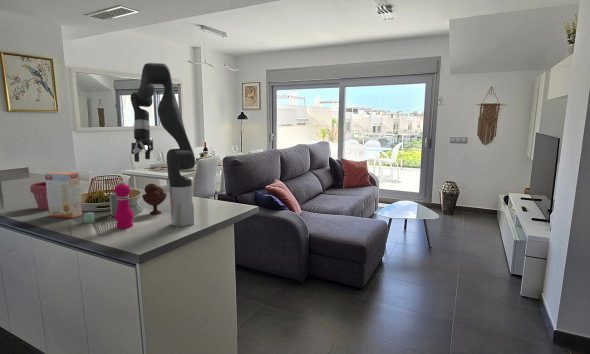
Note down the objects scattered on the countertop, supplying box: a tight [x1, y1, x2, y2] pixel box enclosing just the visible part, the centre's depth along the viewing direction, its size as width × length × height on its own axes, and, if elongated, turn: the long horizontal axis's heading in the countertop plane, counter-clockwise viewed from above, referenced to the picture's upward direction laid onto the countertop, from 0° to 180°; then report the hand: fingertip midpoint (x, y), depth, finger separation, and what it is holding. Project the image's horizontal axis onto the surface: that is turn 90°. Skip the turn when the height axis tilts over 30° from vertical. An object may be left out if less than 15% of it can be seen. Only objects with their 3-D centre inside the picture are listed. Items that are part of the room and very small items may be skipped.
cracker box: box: [44, 171, 83, 219], centre depth 160 cm, size 14×6×21 cm, turn 74°
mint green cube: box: [83, 212, 96, 224], centre depth 152 cm, size 4×4×4 cm
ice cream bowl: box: [141, 183, 168, 216], centre depth 166 cm, size 11×11×15 cm
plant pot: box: [29, 181, 49, 211], centre depth 176 cm, size 14×14×13 cm
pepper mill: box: [114, 180, 135, 230], centre depth 145 cm, size 7×7×20 cm
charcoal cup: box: [109, 192, 118, 217], centre depth 164 cm, size 6×6×10 cm
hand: (142, 160), depth 175 cm, fingers open, 8 cm apart
